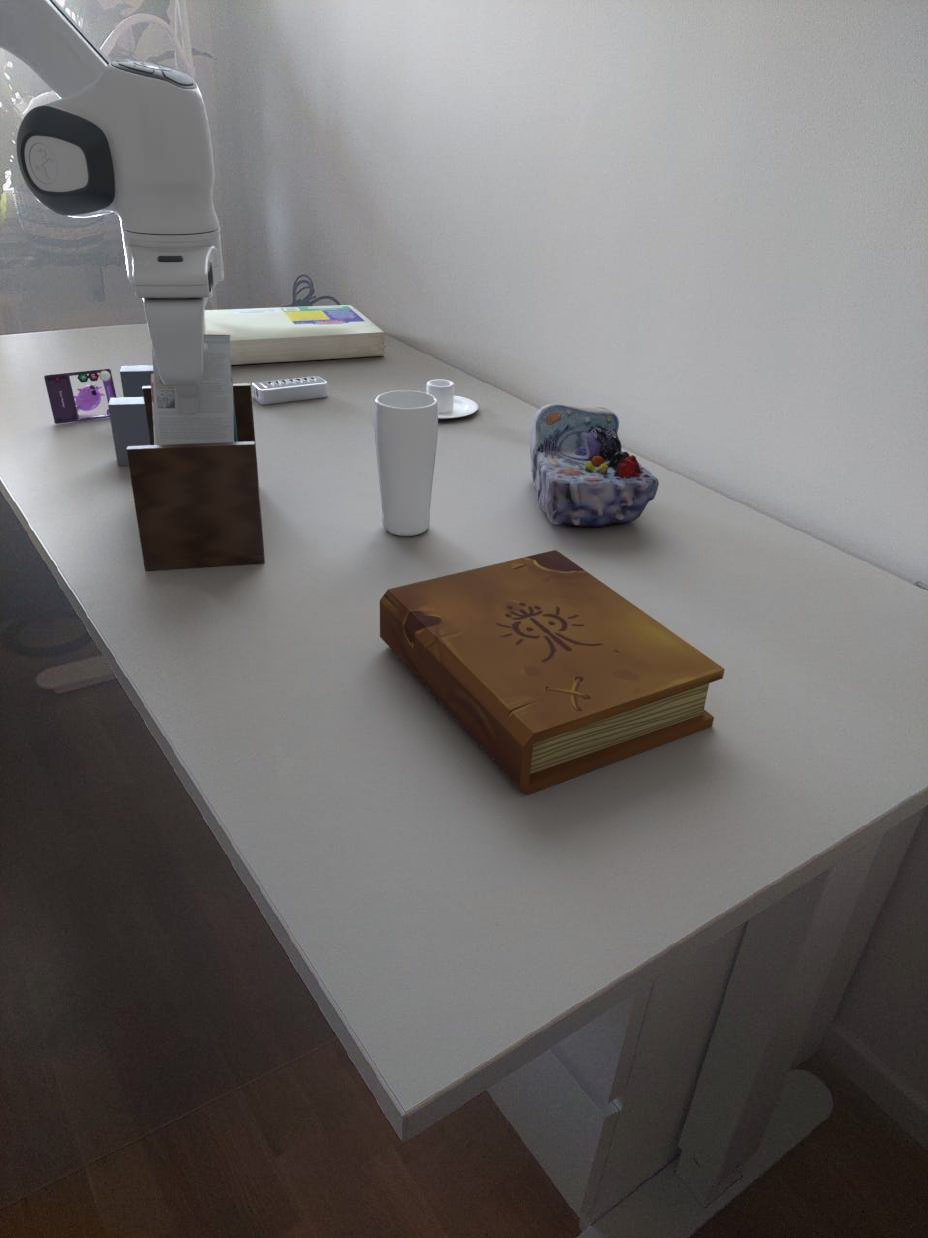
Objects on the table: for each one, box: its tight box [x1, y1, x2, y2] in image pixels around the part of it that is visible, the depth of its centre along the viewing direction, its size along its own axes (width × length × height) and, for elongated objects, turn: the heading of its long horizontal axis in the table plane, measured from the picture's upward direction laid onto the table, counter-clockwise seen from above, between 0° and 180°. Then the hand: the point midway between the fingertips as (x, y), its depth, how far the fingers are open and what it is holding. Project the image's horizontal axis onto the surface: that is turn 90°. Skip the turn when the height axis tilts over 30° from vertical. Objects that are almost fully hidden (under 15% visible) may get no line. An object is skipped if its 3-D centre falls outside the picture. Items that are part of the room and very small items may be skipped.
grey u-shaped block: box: [107, 364, 153, 467], centre depth 126 cm, size 7×18×8 cm, turn 12°
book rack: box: [126, 382, 265, 572], centre depth 102 cm, size 12×21×13 cm, turn 12°
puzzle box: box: [204, 304, 386, 366], centre depth 173 cm, size 36×5×24 cm
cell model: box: [529, 403, 660, 528], centre depth 111 cm, size 13×11×20 cm
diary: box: [379, 549, 726, 795], centre depth 78 cm, size 23×19×6 cm
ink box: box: [151, 334, 234, 445], centre depth 95 cm, size 4×8×15 cm, turn 108°
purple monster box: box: [43, 368, 118, 425], centre depth 135 cm, size 7×5×9 cm
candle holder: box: [426, 378, 479, 420], centre depth 143 cm, size 12×12×4 cm
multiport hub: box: [251, 375, 329, 406], centre depth 147 cm, size 4×11×2 cm, turn 118°
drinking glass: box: [374, 389, 439, 537], centre depth 103 cm, size 7×7×15 cm
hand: (191, 403), depth 95 cm, fingers closed on ink box, 4 cm apart
